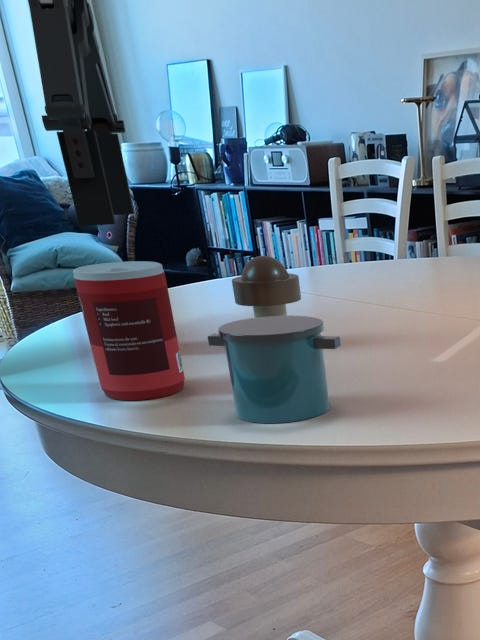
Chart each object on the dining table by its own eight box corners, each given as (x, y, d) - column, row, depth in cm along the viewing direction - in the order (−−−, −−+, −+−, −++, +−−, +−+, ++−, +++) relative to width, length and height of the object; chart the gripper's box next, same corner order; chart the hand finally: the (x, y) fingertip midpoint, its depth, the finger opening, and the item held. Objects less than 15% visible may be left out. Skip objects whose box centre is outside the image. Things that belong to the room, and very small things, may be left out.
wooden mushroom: (231, 353, 97) (215, 260, 92) (261, 340, 103) (248, 251, 98) (290, 355, 96) (277, 260, 91) (317, 341, 101) (306, 251, 97)
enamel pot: (324, 427, 71) (313, 336, 67) (198, 421, 74) (181, 333, 70) (363, 399, 78) (355, 316, 75) (246, 395, 81) (233, 314, 77)
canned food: (152, 377, 88) (127, 259, 83) (204, 386, 84) (181, 263, 79) (84, 394, 83) (53, 269, 77) (136, 405, 79) (107, 274, 73)
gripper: (61, -141, 55) (138, 227, 66) (113, -60, 77) (165, 208, 87) (-67, -143, 54) (33, 233, 65) (22, -60, 75) (86, 213, 86)
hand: (109, 219), depth 76 cm, fingers open, 13 cm apart
